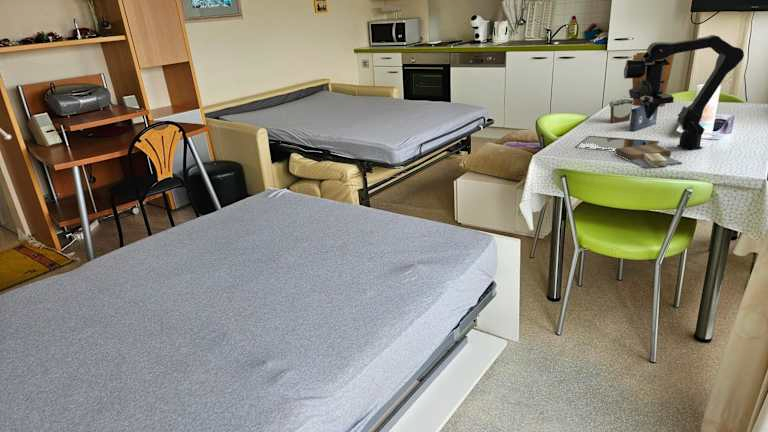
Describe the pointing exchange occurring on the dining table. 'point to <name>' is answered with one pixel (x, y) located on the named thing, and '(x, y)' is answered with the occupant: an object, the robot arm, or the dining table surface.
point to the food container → (621, 110)
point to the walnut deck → (641, 151)
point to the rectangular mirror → (615, 142)
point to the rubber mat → (646, 165)
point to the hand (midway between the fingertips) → (648, 118)
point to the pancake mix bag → (638, 80)
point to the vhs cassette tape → (641, 119)
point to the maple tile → (655, 159)
